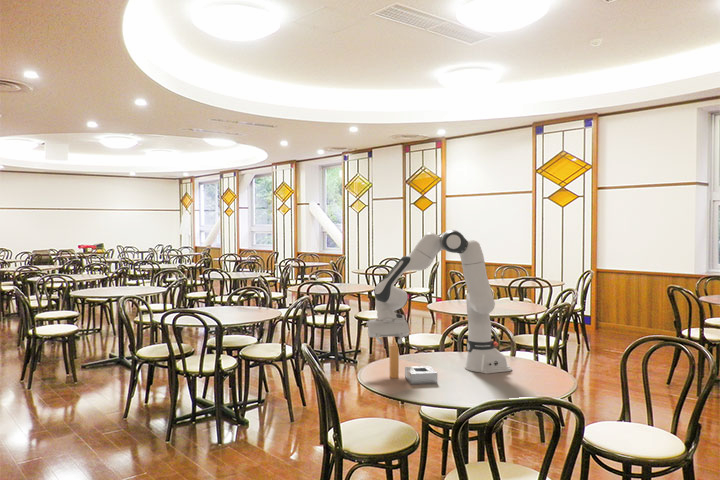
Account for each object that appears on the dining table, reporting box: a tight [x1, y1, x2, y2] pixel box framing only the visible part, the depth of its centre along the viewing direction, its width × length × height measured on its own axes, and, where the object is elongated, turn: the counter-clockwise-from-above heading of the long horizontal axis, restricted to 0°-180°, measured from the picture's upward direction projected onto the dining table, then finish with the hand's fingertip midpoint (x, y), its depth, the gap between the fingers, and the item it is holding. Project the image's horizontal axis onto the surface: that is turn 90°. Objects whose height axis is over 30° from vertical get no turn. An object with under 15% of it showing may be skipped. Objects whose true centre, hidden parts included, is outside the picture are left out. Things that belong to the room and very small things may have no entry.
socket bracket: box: [404, 365, 438, 386], centre depth 240 cm, size 12×12×5 cm
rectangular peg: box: [389, 345, 400, 379], centre depth 246 cm, size 4×4×14 cm
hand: (390, 343), depth 253 cm, fingers open, 8 cm apart
